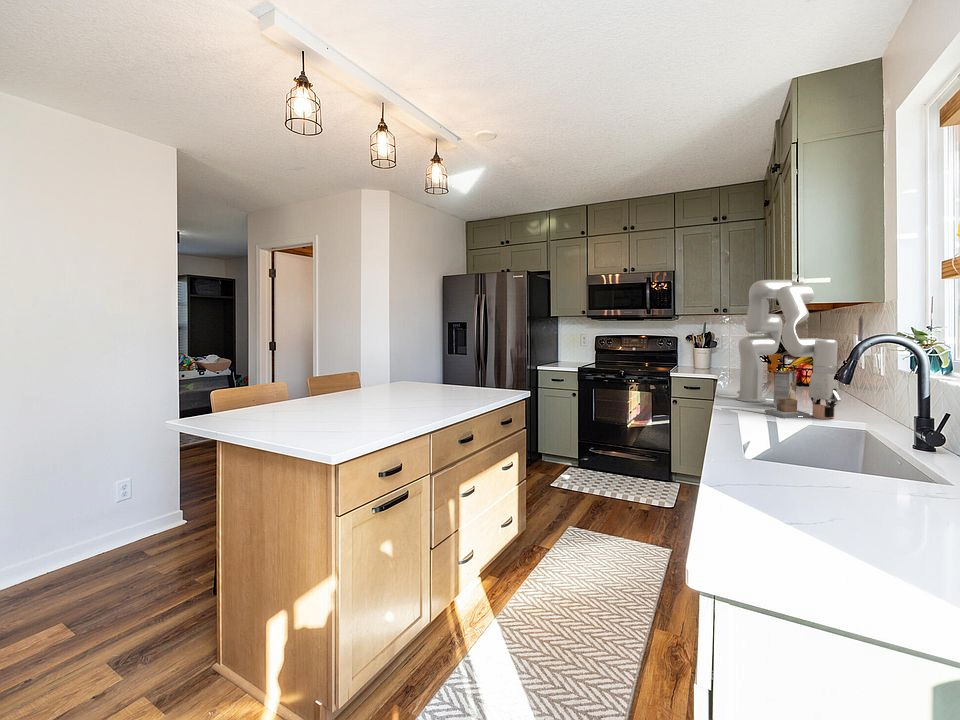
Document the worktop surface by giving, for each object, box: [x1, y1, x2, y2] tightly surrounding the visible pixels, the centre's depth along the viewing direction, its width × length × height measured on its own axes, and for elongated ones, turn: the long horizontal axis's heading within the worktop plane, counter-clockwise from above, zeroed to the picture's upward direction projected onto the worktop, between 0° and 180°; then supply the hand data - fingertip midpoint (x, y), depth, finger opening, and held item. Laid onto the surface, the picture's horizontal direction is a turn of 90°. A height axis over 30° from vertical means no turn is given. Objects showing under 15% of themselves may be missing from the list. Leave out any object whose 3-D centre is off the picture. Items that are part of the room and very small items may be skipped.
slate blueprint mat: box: [764, 408, 811, 419], centre depth 190 cm, size 11×11×2 cm
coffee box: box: [773, 370, 798, 408], centre depth 207 cm, size 9×6×16 cm
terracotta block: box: [811, 403, 836, 420], centre depth 184 cm, size 5×5×5 cm
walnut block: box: [776, 398, 798, 413], centre depth 190 cm, size 5×5×5 cm
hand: (823, 415), depth 184 cm, fingers closed on terracotta block, 5 cm apart
